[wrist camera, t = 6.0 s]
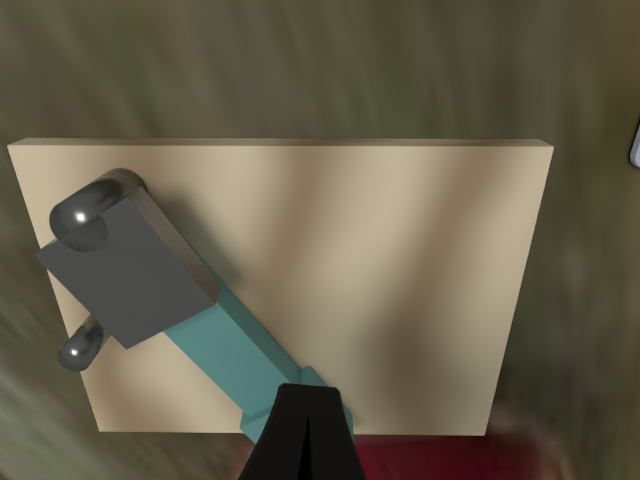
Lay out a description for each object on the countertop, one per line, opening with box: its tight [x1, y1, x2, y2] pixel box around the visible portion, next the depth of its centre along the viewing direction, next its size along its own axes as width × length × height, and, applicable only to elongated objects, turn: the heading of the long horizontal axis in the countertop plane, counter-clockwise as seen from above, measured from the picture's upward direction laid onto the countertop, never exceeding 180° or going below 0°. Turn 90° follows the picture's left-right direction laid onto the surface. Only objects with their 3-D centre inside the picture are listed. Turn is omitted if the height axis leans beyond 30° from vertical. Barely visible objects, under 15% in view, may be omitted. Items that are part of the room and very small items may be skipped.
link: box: [163, 233, 354, 444], centre depth 19 cm, size 13×4×2 cm, turn 34°
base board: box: [7, 138, 554, 436], centre depth 19 cm, size 20×15×1 cm
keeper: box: [34, 168, 222, 372], centre depth 17 cm, size 6×7×5 cm
